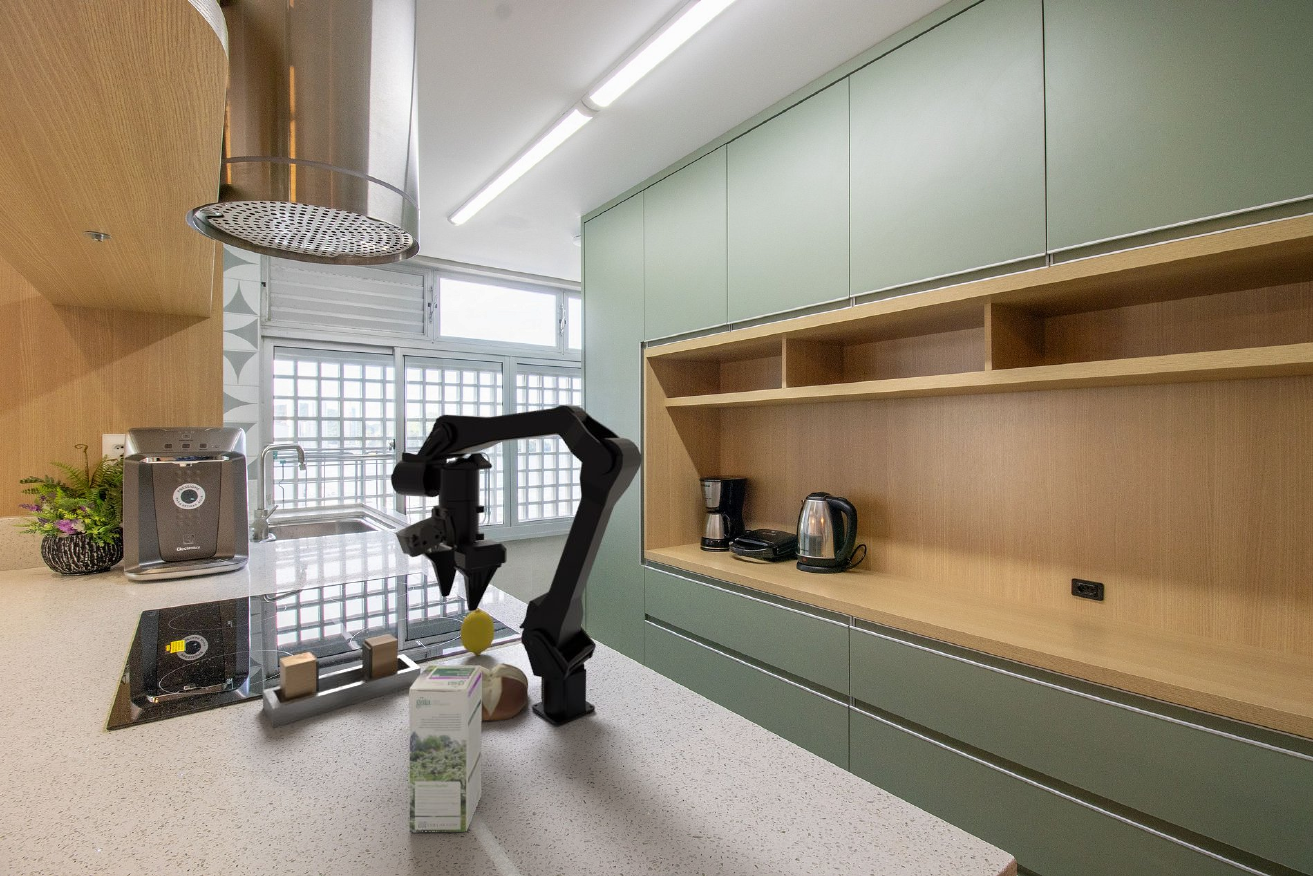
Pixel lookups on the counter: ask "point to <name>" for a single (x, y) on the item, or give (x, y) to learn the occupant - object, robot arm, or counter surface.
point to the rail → (327, 688)
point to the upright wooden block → (379, 656)
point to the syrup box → (445, 748)
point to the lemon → (477, 632)
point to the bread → (503, 692)
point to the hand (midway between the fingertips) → (458, 603)
